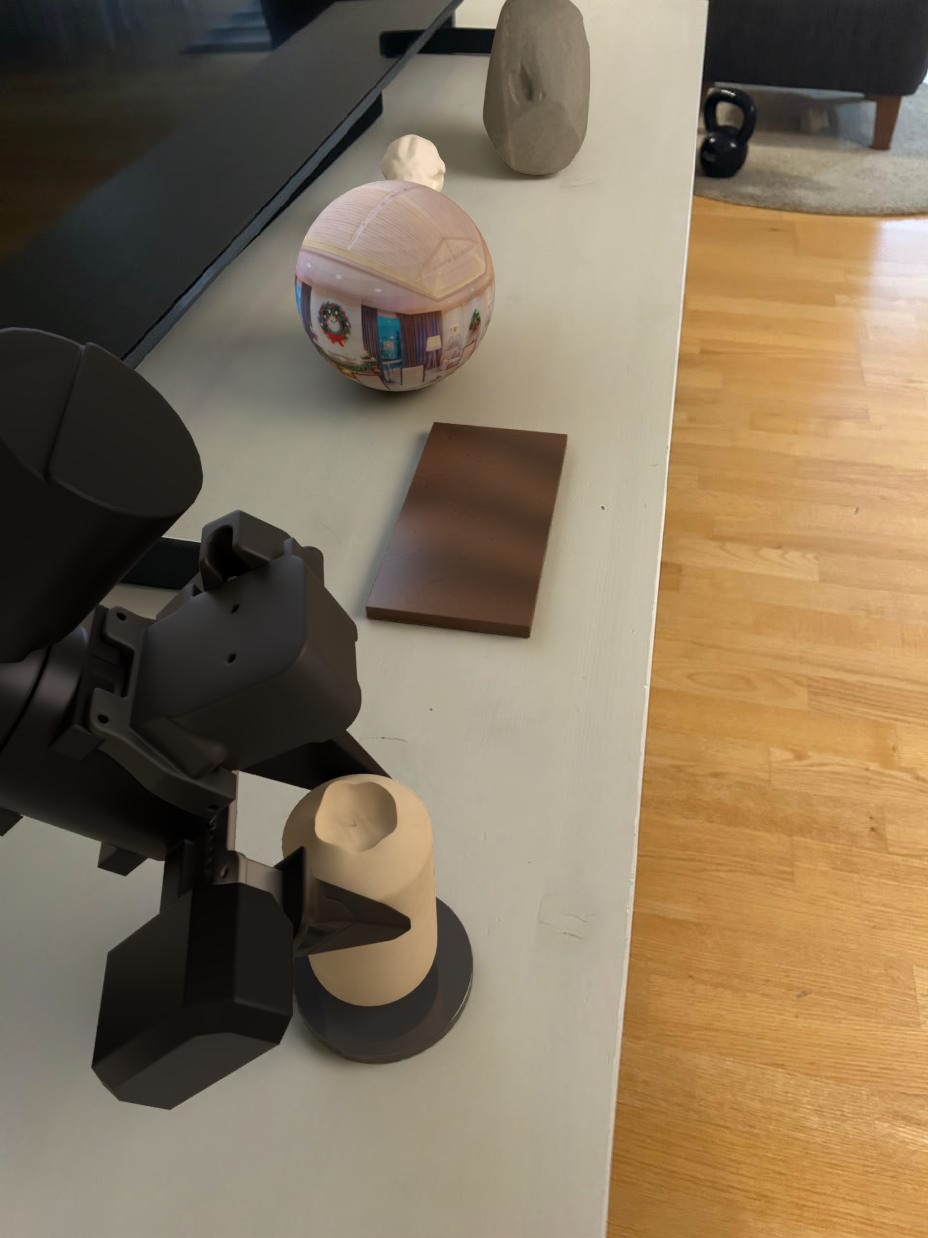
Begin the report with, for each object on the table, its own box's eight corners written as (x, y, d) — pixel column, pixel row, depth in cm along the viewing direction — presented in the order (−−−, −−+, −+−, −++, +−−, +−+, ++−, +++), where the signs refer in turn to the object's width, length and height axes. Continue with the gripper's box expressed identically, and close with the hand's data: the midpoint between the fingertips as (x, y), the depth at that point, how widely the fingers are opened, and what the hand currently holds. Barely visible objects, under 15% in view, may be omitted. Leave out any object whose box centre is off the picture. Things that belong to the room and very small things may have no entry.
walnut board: (529, 638, 58) (530, 626, 57) (366, 618, 59) (365, 606, 59) (567, 445, 72) (567, 433, 71) (433, 432, 73) (433, 421, 73)
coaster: (350, 1103, 40) (348, 1097, 39) (262, 950, 44) (259, 942, 44) (509, 994, 43) (509, 985, 42) (411, 861, 48) (410, 852, 47)
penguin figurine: (445, 127, 94) (430, 188, 87) (449, 212, 101) (434, 275, 93) (381, 125, 95) (360, 186, 87) (388, 210, 101) (369, 273, 94)
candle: (346, 1034, 39) (319, 910, 32) (287, 927, 42) (250, 793, 35) (462, 963, 41) (461, 831, 34) (397, 866, 44) (383, 727, 37)
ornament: (297, 344, 83) (269, 160, 72) (468, 320, 85) (466, 139, 75) (323, 443, 72) (295, 245, 62) (517, 412, 75) (522, 217, 64)
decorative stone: (481, 183, 107) (480, 27, 96) (485, 128, 119) (485, -16, 108) (591, 183, 106) (603, 26, 96) (584, 127, 118) (593, -17, 108)
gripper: (107, 849, 18) (616, 1022, 27) (185, 349, 32) (512, 573, 40) (-145, 1064, 23) (355, 1151, 32) (13, 553, 36) (338, 714, 45)
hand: (397, 860), depth 37 cm, fingers closed on candle, 5 cm apart
